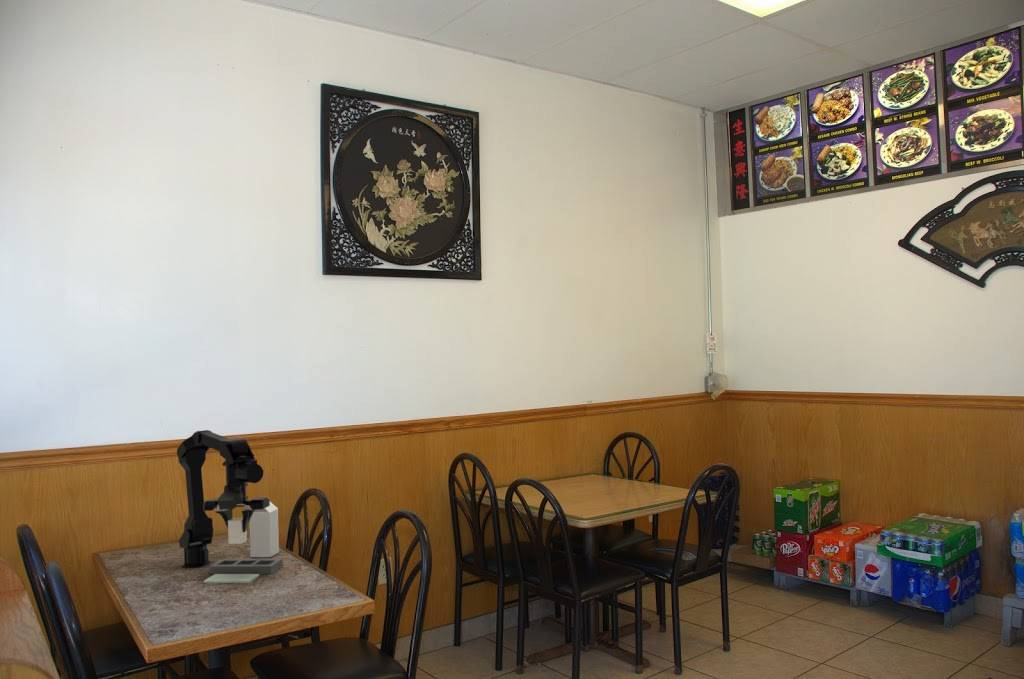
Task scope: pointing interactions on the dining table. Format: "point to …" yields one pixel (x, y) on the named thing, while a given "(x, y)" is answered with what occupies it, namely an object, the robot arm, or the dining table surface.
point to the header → (246, 566)
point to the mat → (231, 578)
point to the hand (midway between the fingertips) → (237, 532)
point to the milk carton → (264, 532)
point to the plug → (236, 531)
